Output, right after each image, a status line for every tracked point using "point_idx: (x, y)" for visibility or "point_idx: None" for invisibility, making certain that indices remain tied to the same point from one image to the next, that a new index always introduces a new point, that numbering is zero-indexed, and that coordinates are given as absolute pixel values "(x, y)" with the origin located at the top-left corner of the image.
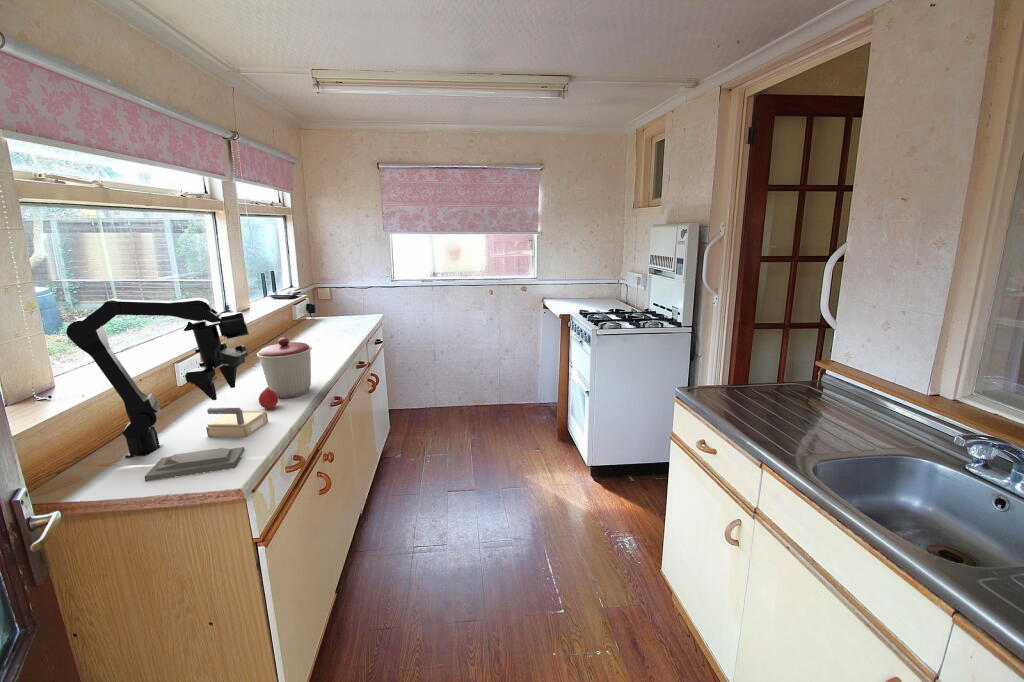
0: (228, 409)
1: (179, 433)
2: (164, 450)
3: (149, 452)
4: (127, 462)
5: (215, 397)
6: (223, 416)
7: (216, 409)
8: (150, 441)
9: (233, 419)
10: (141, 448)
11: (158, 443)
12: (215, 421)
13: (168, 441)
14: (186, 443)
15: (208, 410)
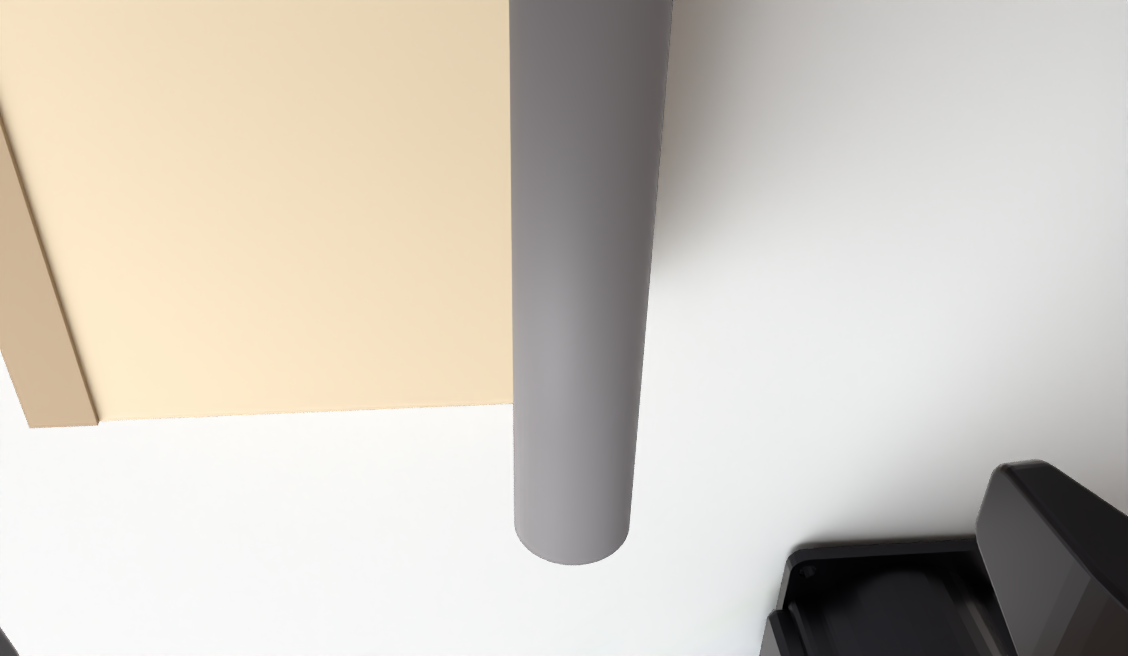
0: (639, 170)
1: (472, 627)
2: (867, 501)
3: (946, 567)
4: None
5: (1106, 509)
6: (277, 379)
7: (625, 415)
8: (961, 647)
9: (379, 137)
10: (1005, 635)
11: (785, 616)
12: (481, 367)
13: (657, 595)
14: (723, 422)
15: (626, 524)
